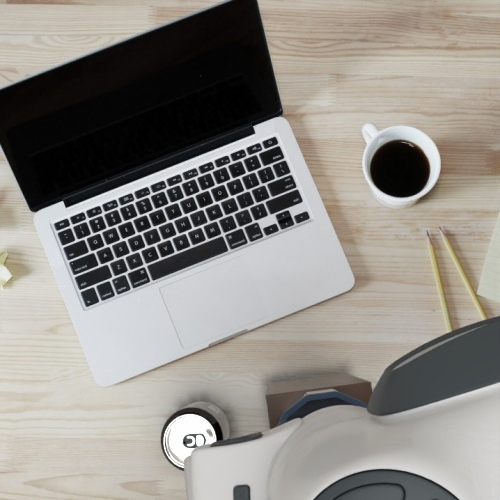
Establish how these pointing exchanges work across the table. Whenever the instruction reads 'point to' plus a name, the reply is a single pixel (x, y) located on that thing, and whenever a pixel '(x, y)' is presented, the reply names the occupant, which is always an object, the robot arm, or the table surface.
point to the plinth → (291, 389)
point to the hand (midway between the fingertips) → (332, 453)
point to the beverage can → (192, 431)
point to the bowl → (316, 403)
